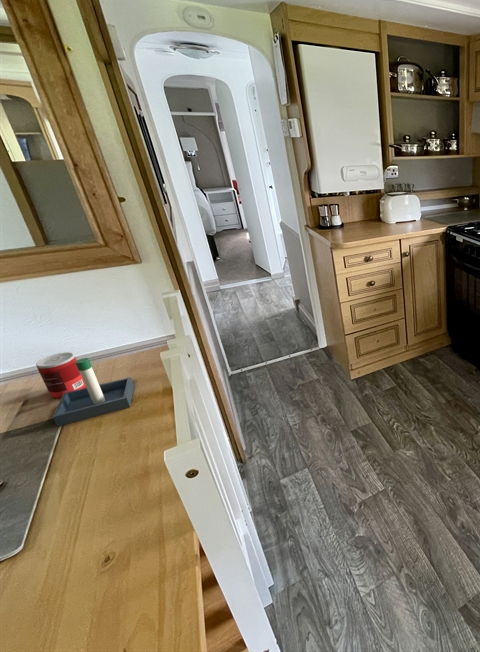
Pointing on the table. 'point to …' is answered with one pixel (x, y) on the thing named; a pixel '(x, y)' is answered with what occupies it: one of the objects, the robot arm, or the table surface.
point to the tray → (82, 407)
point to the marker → (90, 380)
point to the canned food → (60, 374)
